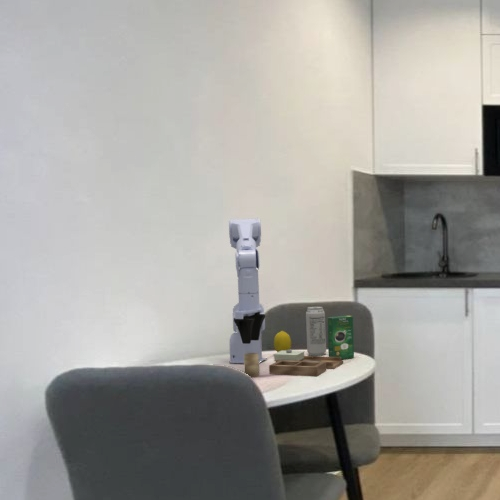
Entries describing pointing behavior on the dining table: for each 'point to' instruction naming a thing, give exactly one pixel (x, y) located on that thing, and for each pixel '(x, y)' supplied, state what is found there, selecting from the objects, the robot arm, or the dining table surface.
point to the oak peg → (251, 364)
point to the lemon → (282, 341)
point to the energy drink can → (316, 331)
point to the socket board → (297, 368)
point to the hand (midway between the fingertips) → (250, 341)
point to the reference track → (330, 361)
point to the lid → (289, 355)
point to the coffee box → (340, 337)
